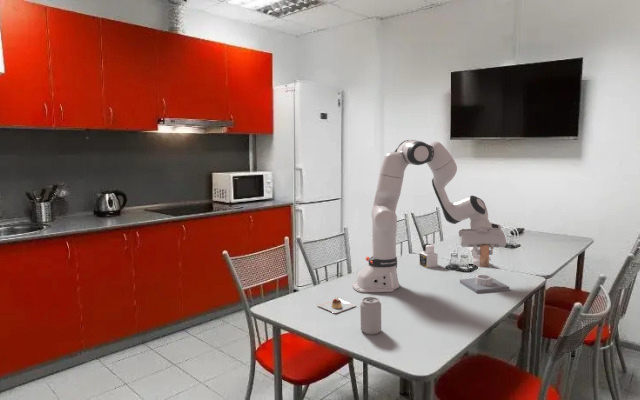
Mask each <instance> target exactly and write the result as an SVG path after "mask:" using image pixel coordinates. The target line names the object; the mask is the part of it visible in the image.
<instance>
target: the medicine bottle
mask: <svg viewBox="0 0 640 400" xmlns="http://www.w3.org/2000/svg"><path fill="white" fill-rule="evenodd" d="M438 255H439V254H438V253H437V252H435V245H434V244H432V243H424V244H423V245H422V251H420V252H419V265H420V266H421V267H424V268H426V269H429V268H436V267H437V268H438V262H439V260H438Z"/></svg>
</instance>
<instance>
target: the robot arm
mask: <svg viewBox="0 0 640 400" xmlns="http://www.w3.org/2000/svg"><path fill="white" fill-rule="evenodd" d="M425 164H427V166H428V167H429V168H430V170H431V172H432V175H433V177H432V179H431V184H432V188H433V191H434V193H435V195H436V198H437V200H438V203H439V205H440V207H441V209H442V213H443V217H444V219H445V220H446V221H447V222H448V223H450V224H452V225H455V224H458V223H460V222H462V221H465V220H467V219H469V221H470V222H469V223H470V225H469V226H470V228H461V229H460V230H459V231H458V236H459V238H460V239H459V243H460V244H459V245H460V246H461V247H462V248H466V247H473V249H474V250H475V251H476V254H477V255H480V250H478V249H477V247H479V248H480V245H481V244H486V245H489V256H493V254H494V253H493V252H494V249H495V248H505V246H507V245H506V244H507V238H506V236H505V233H504V231H503V230H502V225H500V224H497V223H493V222H490V220H489V213H488V212H489V211H488V209H487V205H486V203H485V201H484V200H483V199H481V198H480V197H477V196H475V195H470V196H465V197H463V198H461V199H459V200H457V201H455V202H451V201H450V199H449V197H448V193H446V189H445V188H446V186H448V184H449V183H450V182H451V181H452V180H453V179H454V177H455V176H456V173H457V170H458V166H457V163H456V161H455V159H454V157H452V155H451V153H450V152H449V151H448V149H447V148H446V147H445V146H444V145H443V144H442V143H441V142H439V141H431V142H429V143H427V142H424V141H422V140H421V141H420V140H416V139H407V140H404V141H402V142H401V143H399V145H398V147H396V149H395V150H394V151H391V152H388V153H386V154H385V156H384V158H383V160H382V163H381V165H380V171H379V173H378V174H379V175H378V180H377V185H376V191H375V196H374V199H373V203H372V205H373V206H372V209H371V219H372V220H371V221H372V235H371V236H372V238H371V239H372V240H371V241H372V247H371V249H372V254H371V255H372V256H371V257H369V256H366V257H365V260H366V262H368V264H367V265H366V266H365V267H363V269H361V270H359V272H358V273H357V276H356V281H355V280H354V281H353V282H352V283H351V284H352V286H351V287H352V288H353V289H354V290H355V291H356V292H358V293H391V292H392V293H393V292H394V291H395V290H396V289H398V288H399V287H400V286H401V285H400V282H399V278H398V271H397V268H398V257H397V228H398V226H397V223H398V216H397V214H396V211H397V206H398V203H399V199H400V196H401V191H402V188H403V181H404V176H405V171H406V169H407V168H408V165H415V166H422V165H425Z"/></svg>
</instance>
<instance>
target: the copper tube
mask: <svg viewBox="0 0 640 400" xmlns="http://www.w3.org/2000/svg"><path fill="white" fill-rule="evenodd" d="M479 248H480V268H484V269H485V268H486V269H487V268H489V267H490V261H489V257H490V255H489V250H490V247H489V245H486V244H481V245H480V247H479Z"/></svg>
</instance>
